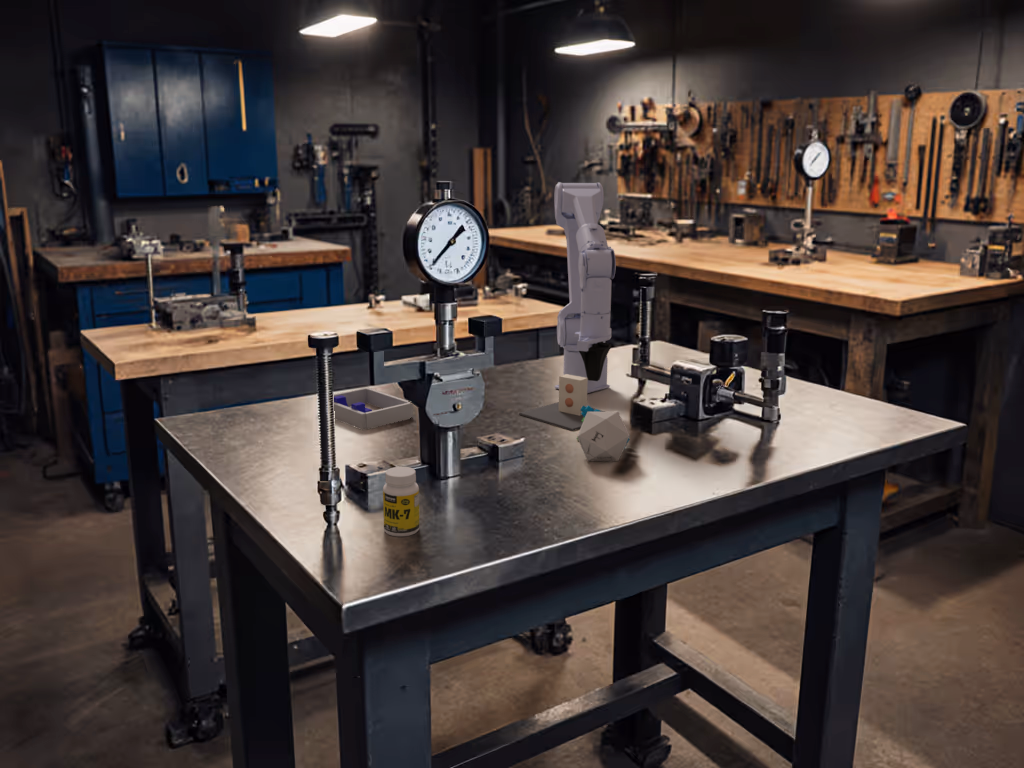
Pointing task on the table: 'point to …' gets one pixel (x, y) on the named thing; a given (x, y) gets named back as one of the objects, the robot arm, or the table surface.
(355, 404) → the blue stepped block
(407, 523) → the supplement bottle
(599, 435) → the die
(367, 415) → the parts tray
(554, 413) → the mat
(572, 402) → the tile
